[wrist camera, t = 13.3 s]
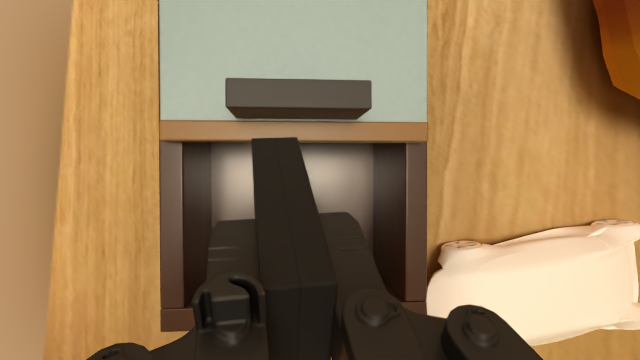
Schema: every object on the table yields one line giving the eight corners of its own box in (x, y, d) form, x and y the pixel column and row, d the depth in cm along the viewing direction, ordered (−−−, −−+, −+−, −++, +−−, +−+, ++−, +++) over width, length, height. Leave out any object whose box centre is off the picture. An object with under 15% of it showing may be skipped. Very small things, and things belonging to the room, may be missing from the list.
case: (197, 284, 30) (160, 332, 21) (196, 36, 30) (157, -23, 21) (386, 280, 31) (427, 323, 22) (386, 41, 31) (428, -13, 22)
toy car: (626, 215, 33) (681, 222, 28) (637, 311, 33) (693, 334, 28) (406, 247, 31) (427, 260, 27) (419, 348, 31) (442, 378, 27)
